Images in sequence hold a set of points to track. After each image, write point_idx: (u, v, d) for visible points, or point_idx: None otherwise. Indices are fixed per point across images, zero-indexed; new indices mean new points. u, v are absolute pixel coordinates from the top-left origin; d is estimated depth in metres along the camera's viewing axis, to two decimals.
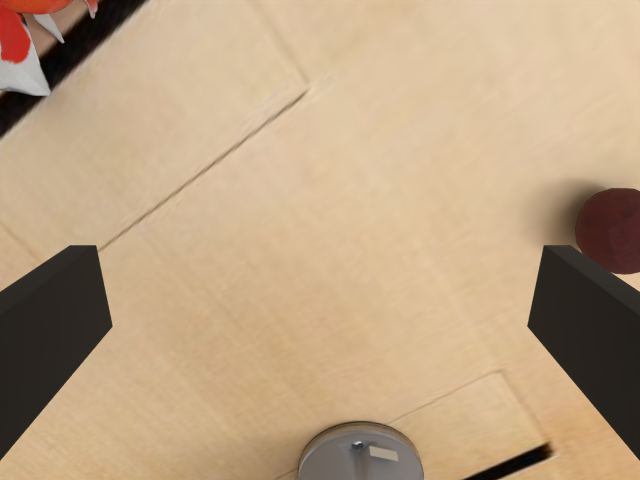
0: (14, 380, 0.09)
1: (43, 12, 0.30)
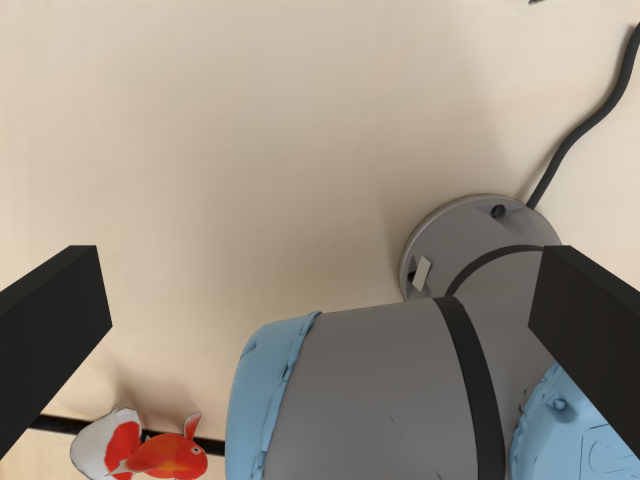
0: (15, 380, 0.09)
1: None
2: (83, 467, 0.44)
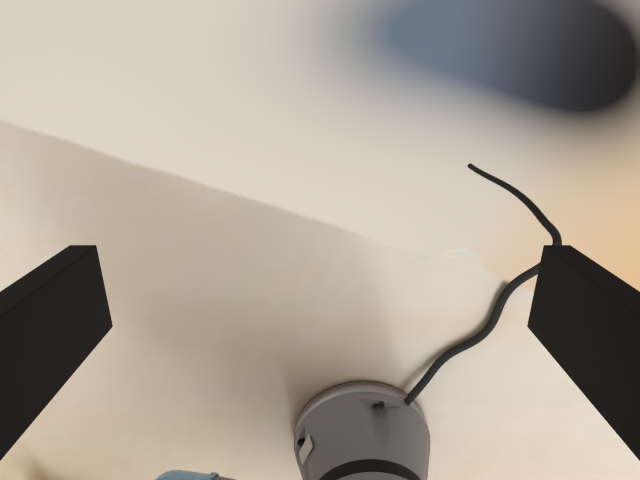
0: (14, 380, 0.09)
1: None
2: None
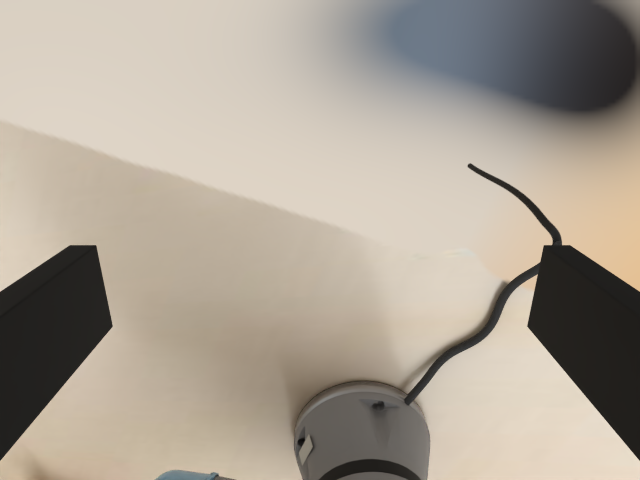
0: (14, 380, 0.09)
1: None
2: None
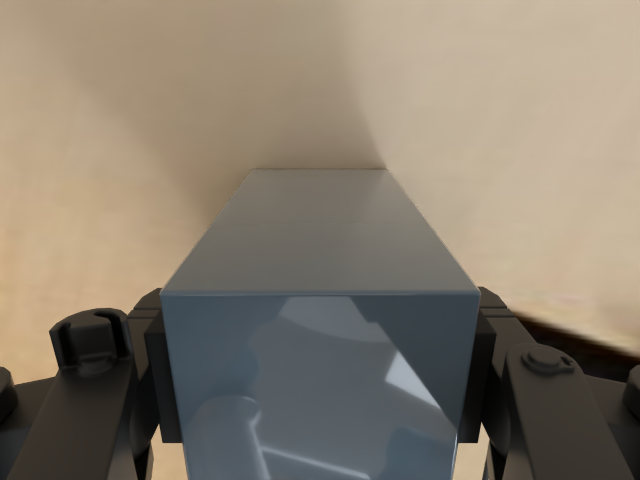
0: None
1: None
2: None
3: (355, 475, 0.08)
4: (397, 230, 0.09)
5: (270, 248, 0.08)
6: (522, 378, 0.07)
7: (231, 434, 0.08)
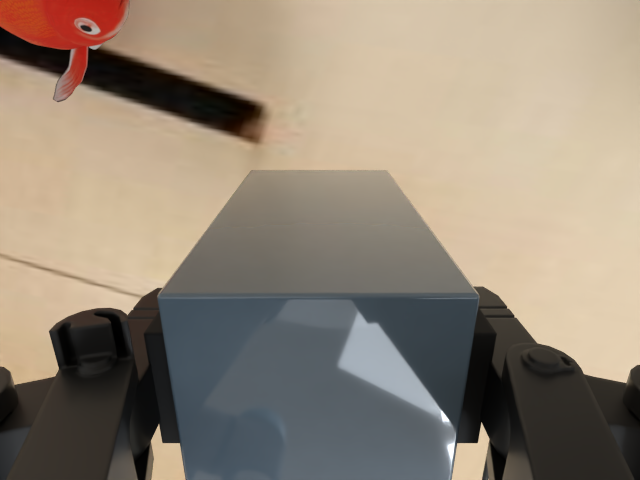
0: None
1: (1, 26, 0.20)
2: None
3: (353, 478, 0.08)
4: (395, 231, 0.09)
5: (268, 251, 0.08)
6: (522, 378, 0.07)
7: (229, 437, 0.08)
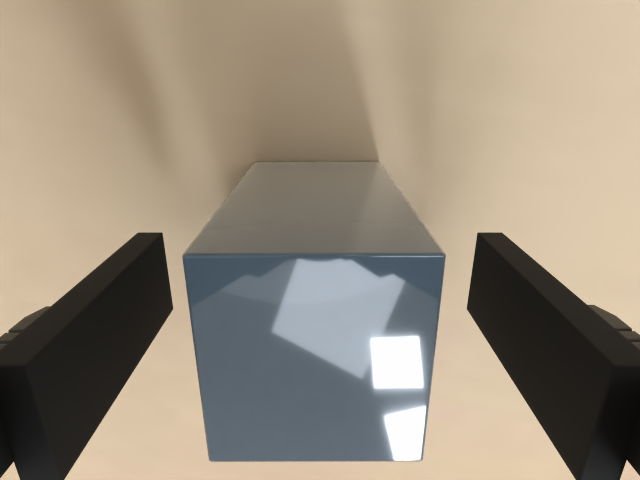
0: (111, 349, 0.10)
1: None
2: None
3: (345, 414, 0.10)
4: (381, 209, 0.11)
5: (272, 224, 0.10)
6: None
7: (240, 378, 0.09)
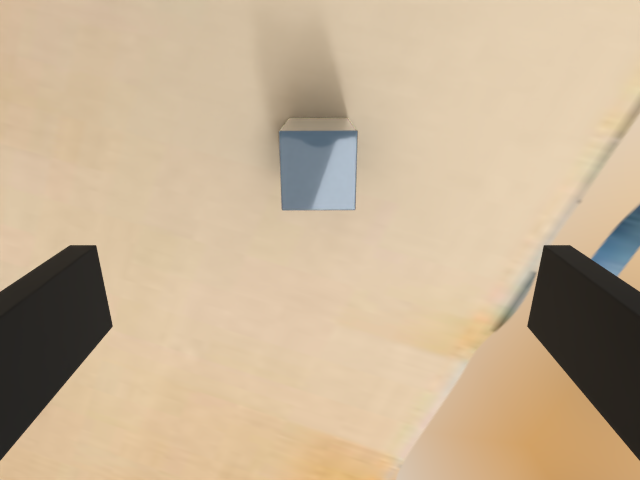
0: (15, 380, 0.09)
1: None
2: None
3: (328, 190, 0.29)
4: (342, 125, 0.30)
5: (303, 127, 0.29)
6: None
7: (294, 175, 0.29)
